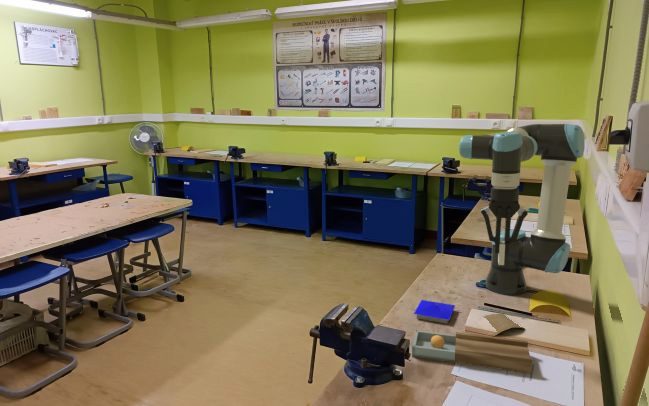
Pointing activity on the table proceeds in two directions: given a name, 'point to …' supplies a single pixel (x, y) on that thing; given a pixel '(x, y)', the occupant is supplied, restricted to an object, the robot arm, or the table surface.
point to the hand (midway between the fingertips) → (500, 263)
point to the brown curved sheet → (500, 322)
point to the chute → (493, 352)
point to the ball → (437, 342)
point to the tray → (426, 350)
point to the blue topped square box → (434, 311)
